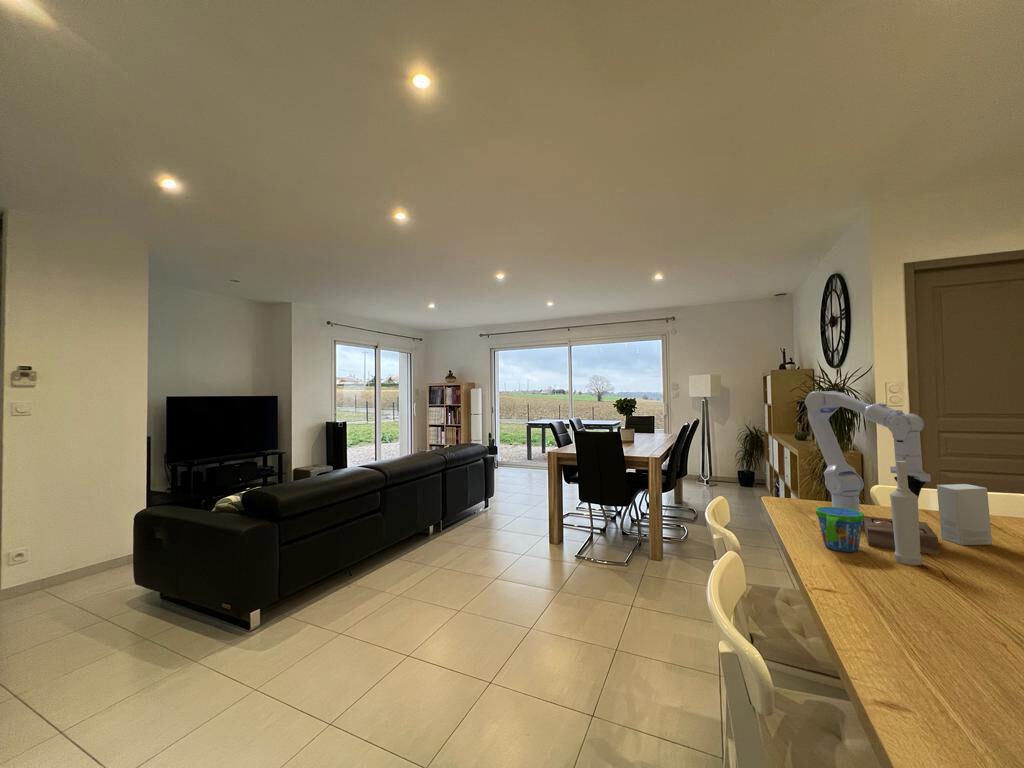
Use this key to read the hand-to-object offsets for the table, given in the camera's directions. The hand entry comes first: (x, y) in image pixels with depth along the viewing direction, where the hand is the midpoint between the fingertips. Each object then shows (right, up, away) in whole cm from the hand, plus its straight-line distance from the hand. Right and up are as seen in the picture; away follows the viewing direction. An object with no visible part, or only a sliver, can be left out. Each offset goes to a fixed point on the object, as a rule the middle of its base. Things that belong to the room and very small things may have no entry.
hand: (911, 502), depth 122 cm
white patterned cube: (-7, -11, +1) cm, 13 cm away
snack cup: (-26, -11, -7) cm, 29 cm away
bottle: (-17, -10, -17) cm, 27 cm away
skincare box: (+11, -10, -5) cm, 16 cm away
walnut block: (-6, -11, -3) cm, 13 cm away
